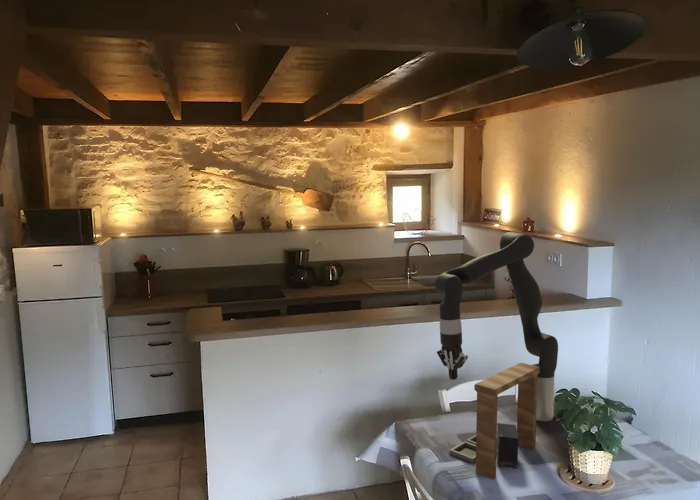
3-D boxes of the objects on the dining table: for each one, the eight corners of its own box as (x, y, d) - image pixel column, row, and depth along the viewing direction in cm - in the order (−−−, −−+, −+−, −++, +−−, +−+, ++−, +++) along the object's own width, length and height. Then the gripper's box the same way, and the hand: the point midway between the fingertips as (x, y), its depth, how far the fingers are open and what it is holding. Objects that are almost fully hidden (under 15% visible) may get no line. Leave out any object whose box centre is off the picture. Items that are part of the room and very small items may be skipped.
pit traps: (480, 435, 201) (480, 431, 201) (502, 443, 195) (502, 439, 195) (449, 454, 188) (449, 449, 188) (472, 463, 182) (472, 458, 182)
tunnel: (518, 442, 196) (520, 362, 193) (537, 448, 191) (539, 367, 188) (473, 472, 176) (474, 384, 172) (493, 480, 171) (494, 389, 168)
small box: (518, 469, 178) (519, 438, 177) (497, 467, 179) (498, 436, 178) (515, 453, 188) (516, 424, 187) (495, 452, 189) (496, 422, 188)
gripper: (472, 331, 192) (475, 380, 193) (444, 326, 202) (446, 372, 204) (458, 335, 187) (460, 386, 189) (429, 330, 198) (432, 377, 199)
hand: (453, 378), depth 196 cm, fingers closed
